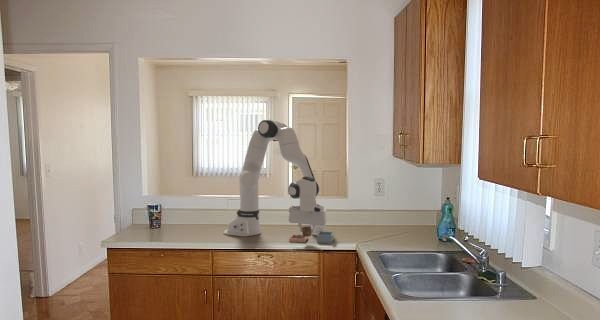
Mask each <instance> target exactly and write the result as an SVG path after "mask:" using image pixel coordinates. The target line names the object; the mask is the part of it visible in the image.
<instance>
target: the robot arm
mask: <svg viewBox="0 0 600 320" xmlns="http://www.w3.org/2000/svg"><path fill="white" fill-rule="evenodd" d="M298 140H299V139H298V137H297V134H296V131H295V130H294V128H292V127H290V126H289V127H288V126H287V125H286V124H285V123H282V122H280V121H276V120H272V119H263V120H261V121H260V122H259V123H258V126H257V129H255V130H254V131H253V132H252V135H251V138H250V140H249V142H248V146H247V149H246V150H247V151H246V154H245V157H244V162H243V166H242V171H241V174H240V175H239V180H238V181H239V198H240V199H239V203H240V204H239V209H238V210H237V211H236V214H237V215H236V216H235V217H234V218H233V219H231V220H230V221H229V222H228V225H227V229H226V228H225V230H224V231H223V234H224V235H228V236H237V237H249V236H250V237H251V236H257V235H259V234H262V231H261V225H260V209H259V206H260V205H259V203H260V202H259V200H260V199H259V179H260V175H261V172H262V168H263V164H264V161H265V157H266V153H267V150H268V146H269V143H270V141H273V142H278V144H279V145H278V146H279V150H280V155H281V157H282V158H283V159H284V160H285V161H287V162H288V163H291V164H293V165H295V166H297V167H298V168H300V171H301V174H302V176H303V177H301V178H300V179H299V180H297V181H291V183H289V185H288V189H287V193H288V195H289V197H290V198H292V199H293V200H294V199H297V200H299V205H296V206H295V205H291V206H290V207H289V208H288V213H289V215H288V222H289V223H290V224H297V225H298V228H299V232H300V233H302V227H303V226H302V225H309V226H310V225H313V229H310V233H313V231H314V228H315V226H316V225H322V226H324V225H325V224H327V214H326V215H325V213H326V212H324V209H325V206H323V205H320V204H319V203H317V200H316V197H317V196H318V195H319V192H320V186H319V184H318V182H317V181H316V178H315V176H314V173H313V170H312V168H311V164H310V162H309V160H308V158H307V155H305V154H304V152H303V151H302V149H301V146H300V144H299V141H298Z"/></svg>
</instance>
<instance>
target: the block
mask: <svg viewBox="0 0 600 320" xmlns="http://www.w3.org/2000/svg"><path fill="white" fill-rule="evenodd" d="M301 227H302V232H301V233H302V235H303V237H305V236H308V237H311V236H312V235H313V234H312V233H310V229H311V226H310V225H303V226H301Z"/></svg>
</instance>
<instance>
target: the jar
mask: <svg viewBox="0 0 600 320" xmlns="http://www.w3.org/2000/svg"><path fill="white" fill-rule="evenodd" d="M324 212H325V215H326V216H327V213H326V212H327V209H326V208H324ZM326 224H327V223H326ZM326 224H325V225H324V226H322V225H316V226H315V228H314V231H313V233H312V235H314V236H317V234H318V232H319V231H323V232H325V230H326ZM309 226H311V229H313V225H310V224H309Z"/></svg>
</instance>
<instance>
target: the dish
mask: <svg viewBox="0 0 600 320" xmlns="http://www.w3.org/2000/svg"><path fill="white" fill-rule="evenodd" d="M296 235H297V234H291V235H290V236H289V238H288V242H289V243H306V242H307V240H308V239H309V236H305V237H303V234H300V235H301V239H297V238H296Z"/></svg>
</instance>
